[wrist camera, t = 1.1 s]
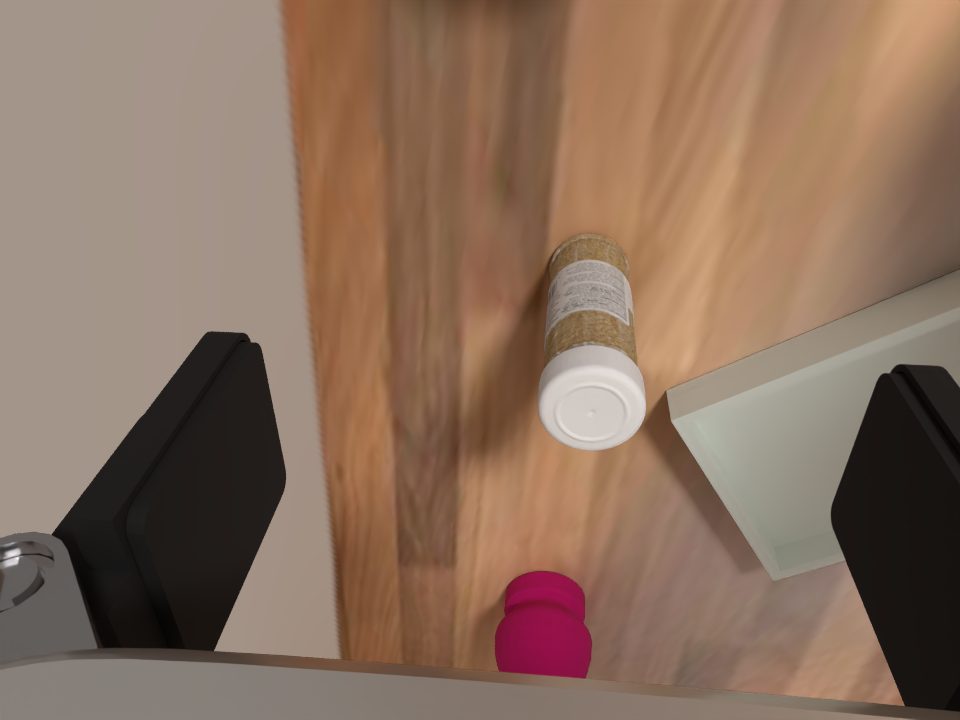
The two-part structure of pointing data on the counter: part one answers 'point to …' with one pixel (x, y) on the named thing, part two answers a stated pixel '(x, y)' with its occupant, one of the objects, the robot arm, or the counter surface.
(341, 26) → the counter surface
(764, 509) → the tray
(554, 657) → the pepper mill
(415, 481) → the counter surface
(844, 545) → the robot arm
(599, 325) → the sprinkles bottle
